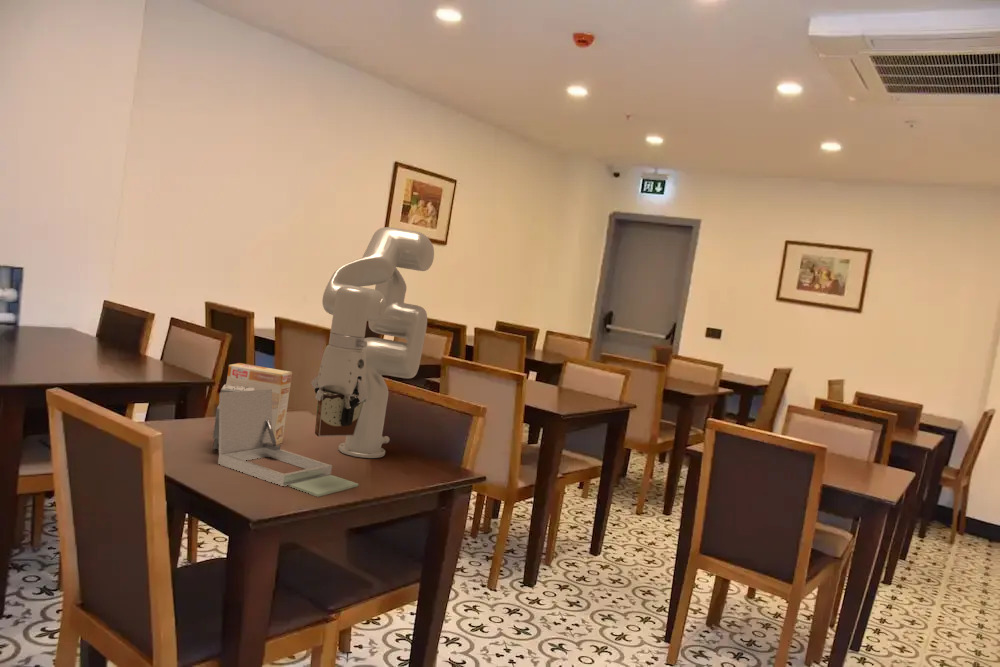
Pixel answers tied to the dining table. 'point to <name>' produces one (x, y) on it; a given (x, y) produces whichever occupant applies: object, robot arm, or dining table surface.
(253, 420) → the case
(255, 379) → the coffeecake box
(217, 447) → the circuit breaker
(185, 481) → the dining table surface
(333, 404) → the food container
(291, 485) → the mat
